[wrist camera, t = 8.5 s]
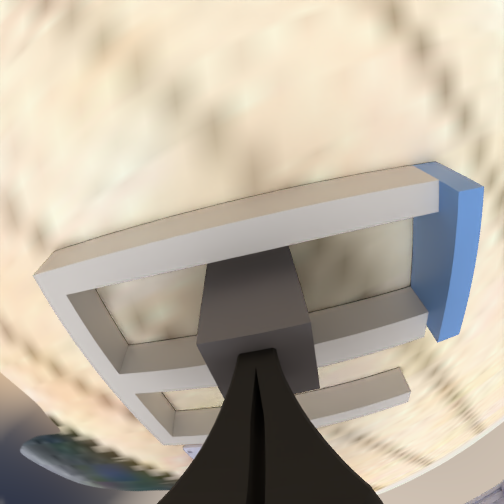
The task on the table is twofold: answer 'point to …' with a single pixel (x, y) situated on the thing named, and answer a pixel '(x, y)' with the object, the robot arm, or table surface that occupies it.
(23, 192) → the table surface
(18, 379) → the table surface
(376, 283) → the table surface
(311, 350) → the dark gray block
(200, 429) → the grey blue slatted frame
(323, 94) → the table surface
